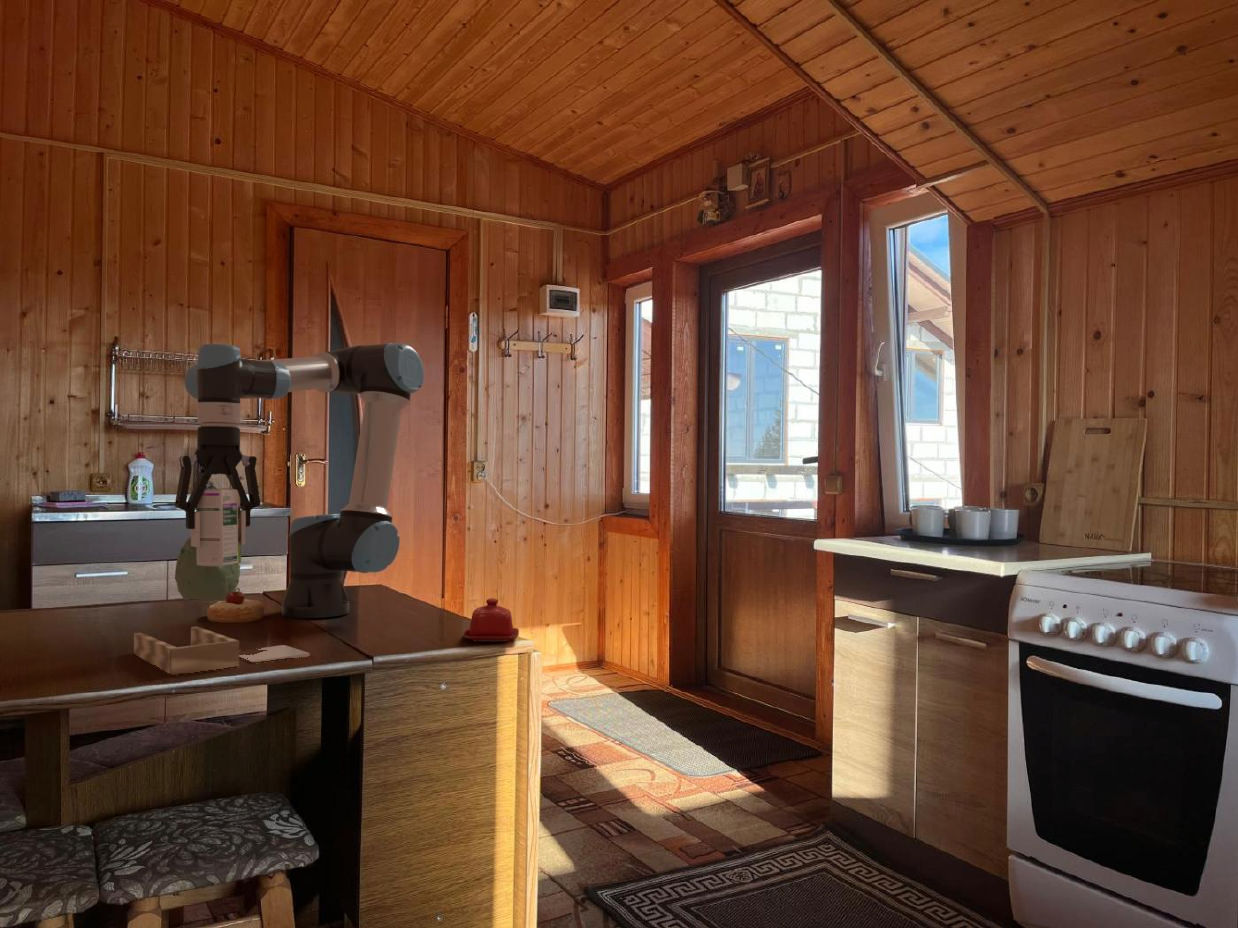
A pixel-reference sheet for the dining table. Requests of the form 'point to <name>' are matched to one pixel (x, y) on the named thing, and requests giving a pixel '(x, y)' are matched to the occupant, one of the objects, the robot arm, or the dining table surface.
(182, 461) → the robot arm
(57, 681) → the dining table surface
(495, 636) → the butter dish
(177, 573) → the green lumpy fruit
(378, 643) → the dining table surface
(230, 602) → the pastry
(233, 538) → the syrup box
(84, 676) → the dining table surface
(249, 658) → the coaster
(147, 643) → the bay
